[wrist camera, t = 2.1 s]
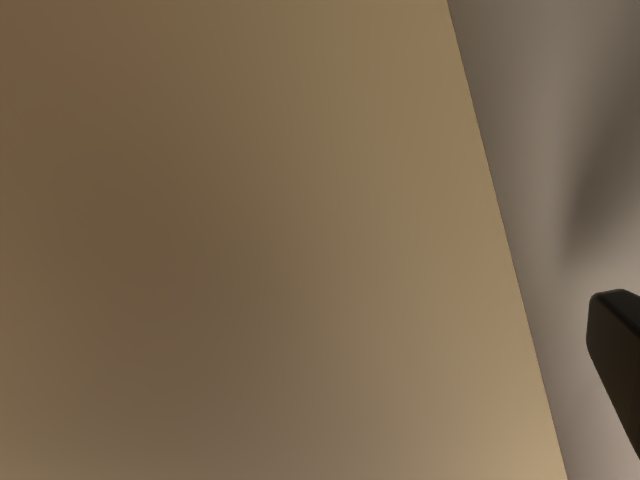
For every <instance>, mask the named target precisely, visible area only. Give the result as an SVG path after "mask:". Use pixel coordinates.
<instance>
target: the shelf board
mask: <svg viewBox="0 0 640 480" xmlns="http://www.w3.org/2000/svg"><path fill="white" fill-rule="evenodd" d="M0 480H568V479H567V475H566V471H565V467H564V463H563V459H562V455H561V451H560V447H559V444H558V440H557V436H556V432H555V428H554V424H553V420H552V416H551V412H550V408H549V404H548V400H547V396H546V392H545V388H544V384H543V380H542V376H541V372H540V368H539V364H538V360H537V356H536V352H535V348H534V344H533V340H532V336H531V332H530V329H529V325H528V321H527V317H526V313H525V309H524V305H523V301H522V297H521V293H520V289H519V285H518V281H517V277H516V273H515V269H514V265H513V261H512V257H511V253H510V249H509V245H508V241H507V237H506V233H505V229H504V225H503V221H502V217H501V213H500V210H499V206H498V202H497V198H496V194H495V190H494V186H493V182H492V178H491V174H490V170H489V166H488V162H487V158H486V154H485V150H484V146H483V142H482V138H481V134H480V130H479V126H478V122H477V118H476V114H475V110H474V106H473V102H472V98H471V95H470V91H469V87H468V83H467V79H466V75H465V71H464V67H463V63H462V59H461V55H460V51H459V47H458V43H457V39H456V35H455V31H454V27H453V23H452V19H451V15H450V11H449V7H448V3H447V0H0Z"/></svg>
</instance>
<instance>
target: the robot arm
mask: <svg viewBox="0 0 640 480" xmlns="http://www.w3.org/2000/svg"><path fill="white" fill-rule="evenodd" d="M586 344H587V349H588V352H589V355H590V357H591V359H592V361H593V363H594V366H595V368H596V370H597V372H598V374H599V376H600V378H601V381H602V383H603V385H604V387H605V389H606V391H607V394H608V396H609V398H610V400H611V402H612V404H613V406H614V409H615V411H616V413H617V415H618V417H619V419H620V421H621V424H622V426H623V428H624V430H625V432H626V434H627V436H628V438H629V440H630V442H631V444H632V446H633V448H634V450H635V452H636V454H637V456H638V457H639V459H640V296H638V295H636V294H634V293H632V292H629V291H627V290H624V289H615V290H609V291H604V292H598V293H595V294H594V295H593V296H592V297H591V299H590V303H589V312H588V322H587V333H586Z"/></svg>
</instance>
